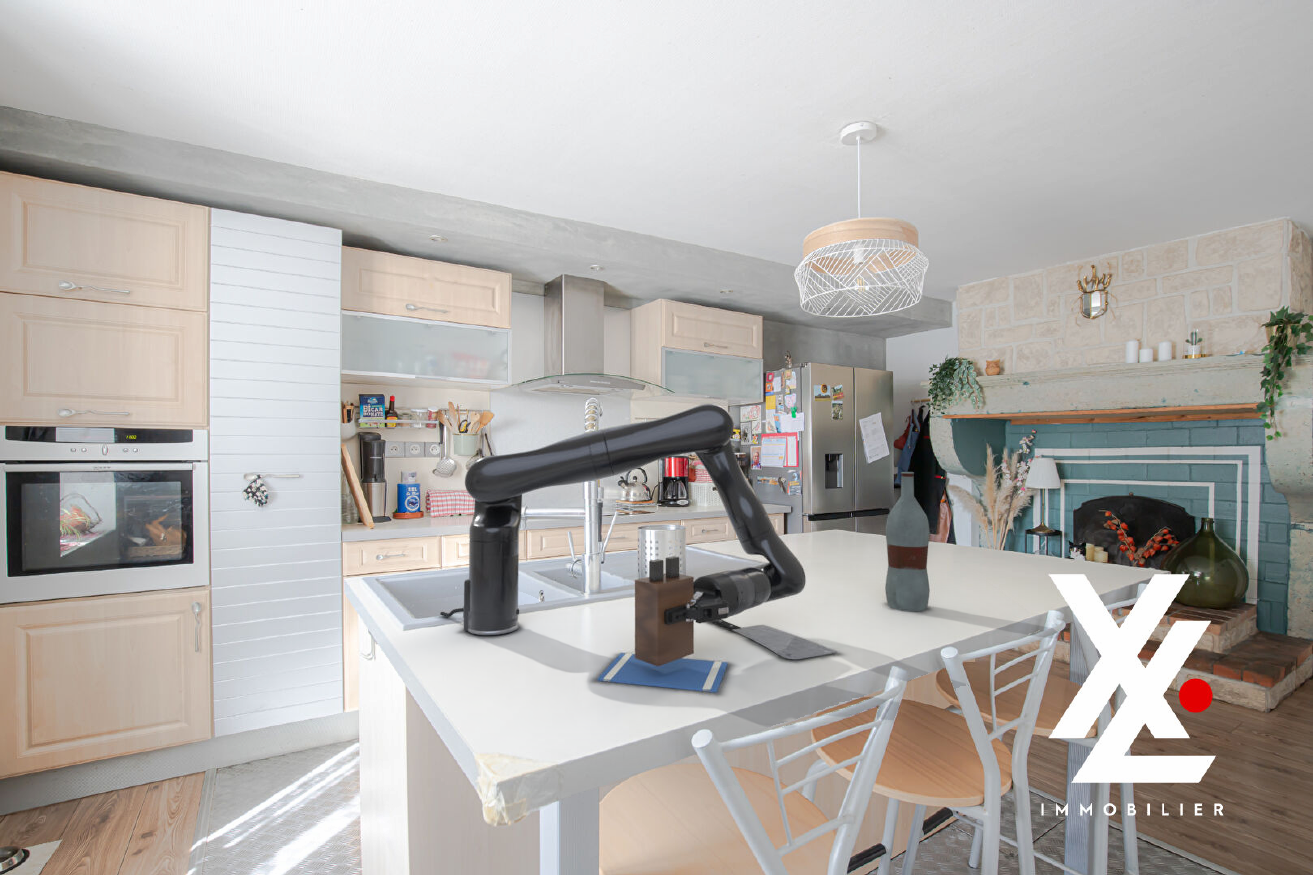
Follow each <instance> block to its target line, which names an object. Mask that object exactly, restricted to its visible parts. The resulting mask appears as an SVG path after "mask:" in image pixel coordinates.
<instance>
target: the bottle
mask: <svg viewBox="0 0 1313 875" xmlns="http://www.w3.org/2000/svg"><path fill="white" fill-rule="evenodd" d="M900 474H901V480H900V481H901V485H900V497H899V498H898V500H897V502H896V503H895V504H894V506H893V508H892V509H891V510H890V512H888V514H887V518H886V524H885V531H884V532H885V540H886V552H887V571H886V578H885V588H884V590H885V597H886V603H887V606H888V607H889V608H891V609H894V610H899V611H903V612H922V611H926V610H927V609H928V605H929V600H930V590H931V589H930V580H929V574H928V573H929V572H928V556H929V544H930V535H931V532H930V524H929V519H928V516H927V513H925V511H924V510H923V508H922V506H921V505H920V503H919V502H918V500H917V498H916V497H915V482H914V479H915V478H914V477H915V476H914V474H915V472H913V471H902V472H900Z"/></svg>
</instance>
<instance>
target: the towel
mask: <svg viewBox="0 0 1313 875" xmlns="http://www.w3.org/2000/svg"><path fill="white" fill-rule="evenodd" d="M727 668H728V661H720V660H719V661H717V660H705V659H694V658H685V657H683V658H680V659H677V660H675V661H672V662H669V663H666V664H664V665H661V666H655V665H652V664H650V663H647V662H644V661H641V660H638V659H635V653H628V652H620V653H619V654H618V655H617V657H616V658H615V659H614V660H612V662H611V663H610V664H609V665H608V666H607V667H606V668H605V670H604V671H603V672H602V673H601V674H600V675H599V676H598V677H597V681H598V682H607V683H617V684H628V685H636V686H637V685H638V686H648V687H657V688H666V689H667V688H668V689H677V690H687V691H695V692H696V691H697V692H707V693H716V694H717V693H718V691H719V688H720V686H721V684H722V680H723V677H724V675H725V672H726V670H727Z"/></svg>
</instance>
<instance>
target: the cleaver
mask: <svg viewBox="0 0 1313 875" xmlns="http://www.w3.org/2000/svg"><path fill="white" fill-rule="evenodd" d="M711 623H713V624H715V625H717V626H720V627H722V628H724V629H726V630H729V631H732V632H735V633H737V634H740V635H741V636H744V637H746V638H748V639H750V640H752V641H754V642H756V643H758V644H759V645H761V646H763V647H765V648H766V649H768V650H770V651H772V652H773V653H775V654H777V655H778V656H780V657H782V658H784V659H788V660H803V659H808V658H813V657H818V656H819V657H820V656H825V655H830V654H835V653H837V651H836V650H833V649H831V648H828V647H827V646H824V645H821V644H819V643H816V642H814V641H811V640H809V639H806V638H803V637H800V636H797V635H795V634H792V633H788V632H787V631H784V630H780V629H778V628H775V627H771V626H769V625H766V624H757V625H750V626H744V627H741V626H738V625H735V624H733V623H731V622H728V621H726V620H725V619H721V620H717V621H714V622H711Z"/></svg>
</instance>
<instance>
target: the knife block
mask: <svg viewBox="0 0 1313 875" xmlns="http://www.w3.org/2000/svg"><path fill="white" fill-rule="evenodd" d="M694 579H695V578H694V576H691V575H686V574H681V573H680V556H676V555H672V556H667V557H665V572H664V559H659V558H657V559H652V560H649V561H648V577H647V576H646V577H641V578H637V579H634V654H635V659H638V660H641V661H644V662H647V663H650V664H652V665H655V666H661V665H664V664H666V663H669V662H672V661H675V660H677V659H680V658H685V657H689V656H692V655H694V654H695V626H694V625H695V623H694V622H695V620H692V621H690V622H686V621H681V622H678V623H674V624H671V625H667V624H665V623H664V611H665V610H666V609H669V608H673V607H676V606H680V605H682V606H684V604H686V603H689V602H691V599H692V598H694V581H695V580H694Z"/></svg>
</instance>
